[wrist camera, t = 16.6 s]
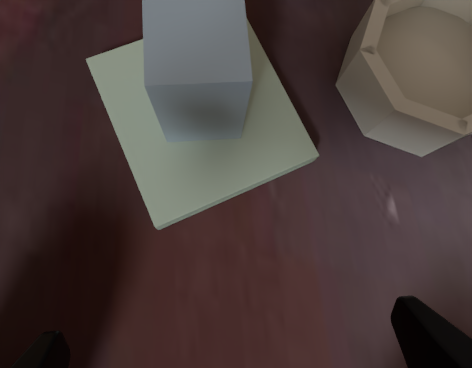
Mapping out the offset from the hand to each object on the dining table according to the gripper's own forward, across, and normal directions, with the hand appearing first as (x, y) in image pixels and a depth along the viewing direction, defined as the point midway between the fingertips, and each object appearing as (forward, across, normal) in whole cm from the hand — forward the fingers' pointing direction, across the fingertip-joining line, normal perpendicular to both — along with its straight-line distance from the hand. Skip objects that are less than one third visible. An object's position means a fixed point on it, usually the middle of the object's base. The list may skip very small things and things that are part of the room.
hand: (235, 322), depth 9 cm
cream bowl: (+19, -16, 0) cm, 25 cm away
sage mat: (+18, +1, +1) cm, 18 cm away
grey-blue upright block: (+17, +1, 0) cm, 17 cm away
